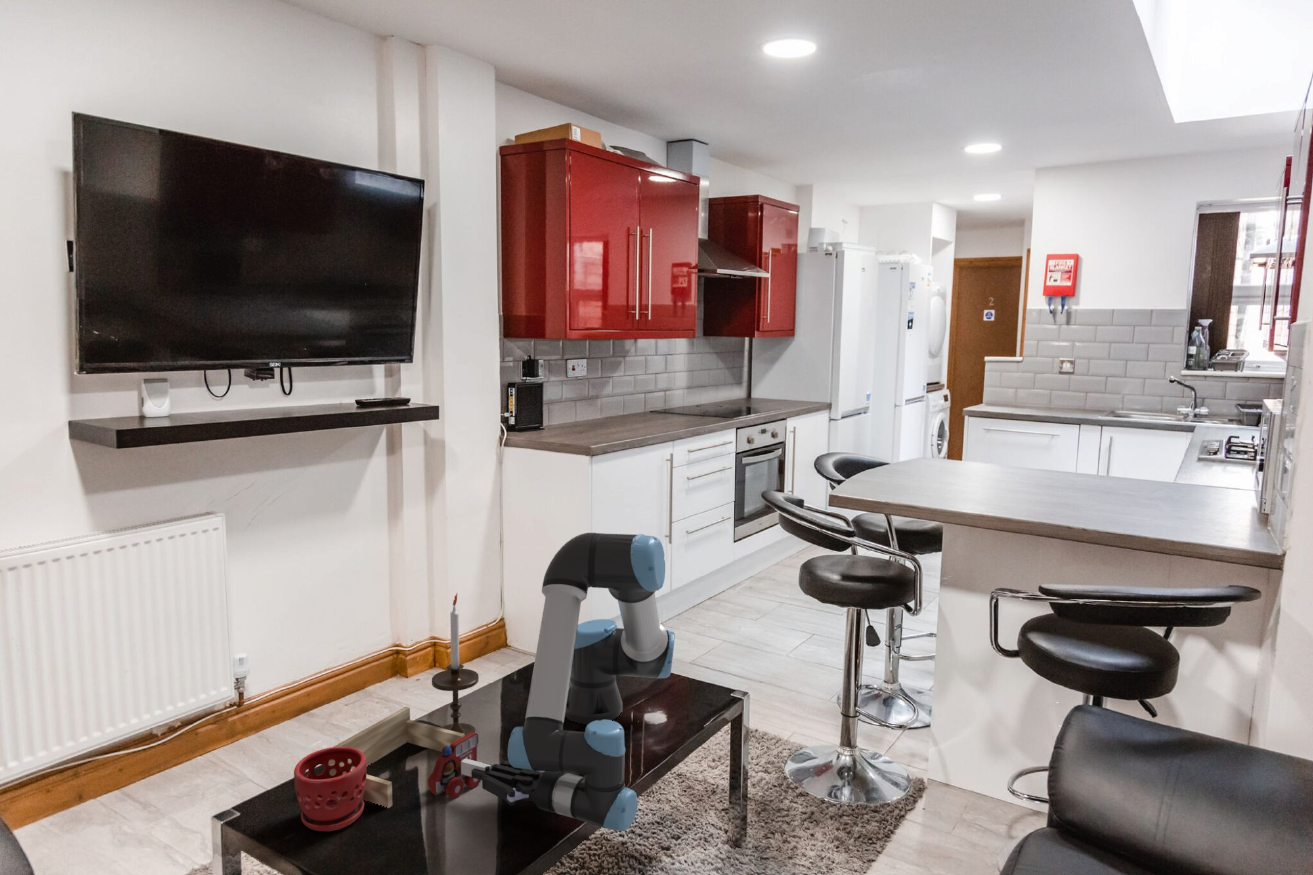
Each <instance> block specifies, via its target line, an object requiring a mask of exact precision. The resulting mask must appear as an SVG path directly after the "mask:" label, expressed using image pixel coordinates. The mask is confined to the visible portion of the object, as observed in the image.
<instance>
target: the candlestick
mask: <svg viewBox="0 0 1313 875" xmlns="http://www.w3.org/2000/svg"><path fill="white" fill-rule="evenodd" d="M457 600H458V593H456V594H455V595H454V599H453V601H452V611H450V617H449V618H450V664H448V665H447V666H446V670H442V671H440V672H437V673H436V674H434V675H433V676H432V677H431V685H432V688H435V689H437V690H439V691H444V692H452V702H451V703H450V704H449V709H450V710H451V711H452V712H451V713H450V718H452V723H450V724H446V725H443V726H442V727H441V728H443V729H447V730H451V731H455V732H458V733H462V734H465V736H466V735H468V734H469V733H471V732H474V733H476V728H475V727H474V726H473V725H472V724H469V723H465V722H460V719H459V718H460V717H461V716H462V713H461V712H460V709H461V707H463V706H462V705H463V703H462V702H460V701H459V691H464V690H467V689H470V688H473V687H474V686H476V685H477V684H478V683H479V673H478V672H477V671H475V670H472V669H468V668H464V667H465V666H464V665H463V664H462V663H460V631H459V630H460V629H459V628H460V624H459V623H460V621H459V619H460V618H459V616H460V615H459V614H460V613H459V611H458V610H457V607H456V605H457V602H458V601H457Z"/></svg>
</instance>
